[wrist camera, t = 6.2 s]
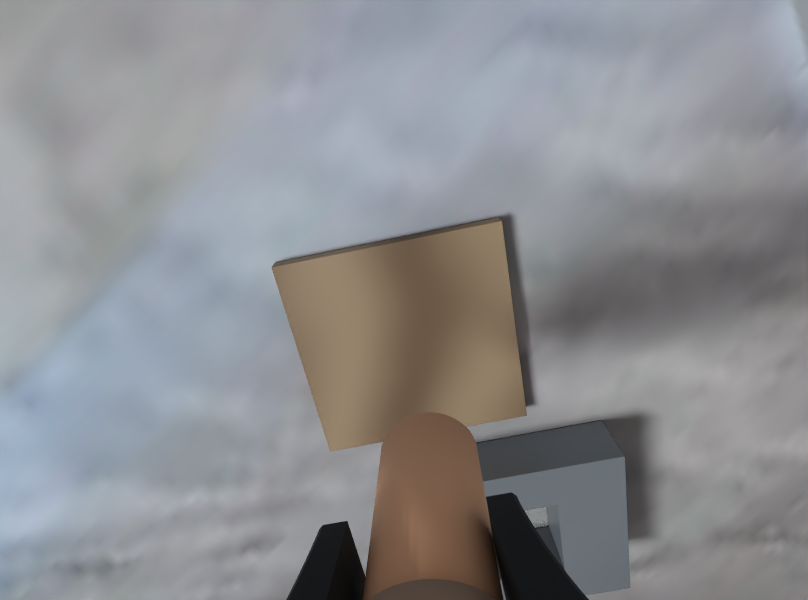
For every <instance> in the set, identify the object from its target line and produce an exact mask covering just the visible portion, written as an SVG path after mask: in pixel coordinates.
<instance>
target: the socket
mask: <svg viewBox="0 0 808 600" xmlns="http://www.w3.org/2000/svg"><path fill="white" fill-rule="evenodd" d="M476 445H477V450H478V456H479V462H480V468H481V473H482V479H483V485H484V491H485V496H486V497H487V496H493V495H499V494H505V493H510V492H512V493H513V494H515V495H517V497H518V500H519V502H520V504H521V505H522V507H523V509H524V510H529V509H535V508H541V507H547V515H548V523H549V526H548V527H543V528H537V529H536V531H537V532H538V534H539V535H540V537H541V538H542V540H543V541H544V543H545V544H546V545H547V547H548V548H549V550H550V551H551V552H552V554H553V555H554V556H555V558H556V559H557V560H558V562H559V563H560V564H561V566H562V567H563V568H564V570H565V571H566V572H567V574H568V575H569V576H570V578H571V579H572V580H573V581H574V583H575V584H576V585H577V586H578V587H579V589H580V590H581V591H582V592H583V593H584V595H589V594H595V593H602V592H608V591H614V590H620V589H626V588H630V572H629V547H628V522H627V497H626V472H625V456H624V454H623V453H622V451H621V450H620V448H619V447H618V445H617V443H616V442H615V440H614V439H613V437H612V436H611V434H610V433H609V431H608V429H607V428H606V426H605V425H604V423H603V422H602V421H596V422H591V423H585V424H580V425H574V426H569V427H563V428H558V429H552V430H547V431H541V432H535V433H530V434H524V435H519V436H513V437H508V438H502V439H497V440H491V441H486V442H480V443H476ZM486 502H487V501H486ZM487 508H488V506H487ZM488 514H489V512H488ZM492 537H493V536H492ZM493 542H494V540H493ZM494 548H495V546H494ZM495 554H496V551H495ZM496 560H497V557H496ZM497 565H498V562H497ZM498 571H499V566H498ZM499 577H500V583H501V588H502V594H503V600H506V598H505V593H504V589H503V584H502V580H501V575H500V571H499Z"/></svg>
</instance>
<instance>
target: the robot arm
mask: <svg viewBox="0 0 808 600" xmlns="http://www.w3.org/2000/svg"><path fill="white" fill-rule="evenodd" d="M486 501H487V506H488V512H489V517H490V523H491V529H492V534H493V540H494V546H495V551H496V557H497V562H498V566H499V571H500V575H501V580H502V584H503V589H504V593H505V598H506V600H589V599H588V598H587V597H586V596H585V595H584V593H583V592H582V591H581V590H580V589H579V587H578V586H577V585H576V584H575V583H574V581H573V580H572V579H571V578H570V576H569V575H568V574H567V572H566V571H565V570H564V568H563V567H562V566H561V564H560V563H559V562H558V560H557V559H556V558H555V556H554V555H553V554H552V552H551V551H550V550H549V548H548V547H547V545H546V544H545V543H544V541H543V540H542V538H541V537H540V535H539V534H538V532H537V531H536V529H535V528H534V526H533V524H532V523H531V521H530V520H529V518H528V516H527V514H526V513H525V511H524V509H523V507H522V505H521V504H520V502H519V500H518V497H517V495H515V494H513V493H512V492H510V493H505V494H499V495H493V496H487V497H486ZM364 586H365V574H364V571H363V568H362V565H361V562H360V559H359V556H358V553H357V550H356V547H355V543H354V540H353V537H352V534H351V531H350V528H349V525H348V522H347V521H344V522H339V523H333V524H327V525H322V527H321V528H320V529H319V531H318V534H317V536H316V538H315V541H314V543H313V545H312V547H311V550H310V552H309V554H308V556H307V559H306V561H305V563H304V565H303V567H302V569H301V571H300V573H299V576H298V578H297V580H296V582H295V584H294V586H293V588H292V590H291V592H290V594H289V596H288V598H287V599H286V600H363V594H364Z"/></svg>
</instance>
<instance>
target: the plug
mask: <svg viewBox="0 0 808 600" xmlns="http://www.w3.org/2000/svg"><path fill="white" fill-rule="evenodd" d="M363 600H503V594H502V588H501V583H500V577H499V571H498V565H497V560H496V554H495V548H494V542H493V537H492V531H491V525H490V519H489V514H488V508H487V502H486V496H485V491H484V485H483V479H482V473H481V468H480V462H479V456H478V450H477V445H476V442H475V439H474V437H473V435H472V434H471V432H470V431H469V430H468V429H467V427H466V426H464V425H463V424H462V423H461V422H459V421H458V420H456V419H454V418H452V417H450V416H448V415H445V414H440V413H433V412H425V413H418V414H413V415H411V416H408V417H406V418H404V419H402V420H400V421H399V422H397V423H396V424H395V425H394V426H393V427H392V428H391V429H390V430H389V431H388V433H387V434H386V436H385V438H384V441H383V444H382V449H381V457H380V465H379V473H378V481H377V489H376V497H375V505H374V513H373V521H372V529H371V538H370V546H369V554H368V562H367V570H366V578H365V586H364V594H363Z"/></svg>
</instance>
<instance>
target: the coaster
mask: <svg viewBox="0 0 808 600" xmlns="http://www.w3.org/2000/svg"><path fill="white" fill-rule="evenodd" d="M272 270H273V273H274V277H275V280H276V283H277V286H278V289H279V292H280V295H281V299H282V302H283V305H284V308H285V311H286V314H287V317H288V321H289V324H290V327H291V330H292V333H293V336H294V339H295V342H296V346H297V349H298V352H299V355H300V358H301V361H302V364H303V368H304V371H305V374H306V377H307V380H308V383H309V386H310V390H311V393H312V396H313V399H314V402H315V405H316V408H317V411H318V415H319V418H320V421H321V424H322V427H323V430H324V433H325V437H326V440H327V443H328V446H329V449H330V451H335V450H341V449H346V448H352V447H357V446H362V445H368V444H373V443H379V442H383V441H384V438H385V436H386V434H387V433H388V431H389V430H390V429H391V428H392V427H393V426H394V425H395V424H396V423H397V422H399V421H400V420H402V419H404V418H406V417H408V416H411V415H413V414H418V413H425V412H433V413H440V414H445V415H448V416H450V417H452V418H454V419H456V420H458V421H459V422H461V423H462V424H463V425H464V426H472V425H477V424H483V423H488V422H494V421H499V420H505V419H510V418H516V417H521V416H526V415H527V413H526V405H525V397H524V389H523V382H522V374H521V366H520V358H519V350H518V343H517V335H516V327H515V319H514V311H513V304H512V296H511V288H510V280H509V272H508V265H507V257H506V249H505V241H504V233H503V226H502V221H501V219H500V218H499V217H498V218H493V219H488V220H483V221H478V222H473V223H468V224H463V225H458V226H453V227H448V228H443V229H438V230H433V231H429V232H424V233H419V234H414V235H409V236H404V237H399V238H394V239H389V240H384V241H379V242H374V243H369V244H364V245H359V246H355V247H350V248H345V249H340V250H335V251H330V252H325V253H320V254H315V255H310V256H305V257H300V258H295V259H290V260H285V261H281V262H276V263H274V265H273V266H272Z"/></svg>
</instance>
